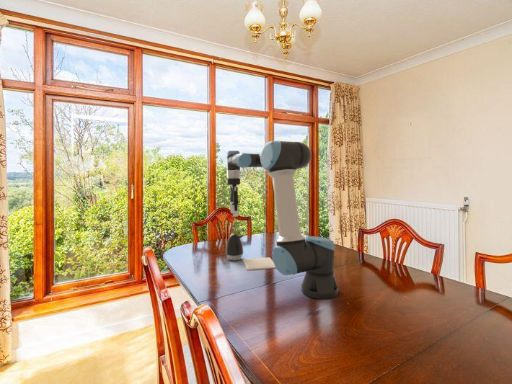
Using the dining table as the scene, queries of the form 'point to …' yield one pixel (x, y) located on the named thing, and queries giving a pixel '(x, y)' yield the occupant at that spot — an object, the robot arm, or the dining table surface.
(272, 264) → the trivet
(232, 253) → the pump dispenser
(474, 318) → the dining table surface
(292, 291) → the dining table surface
